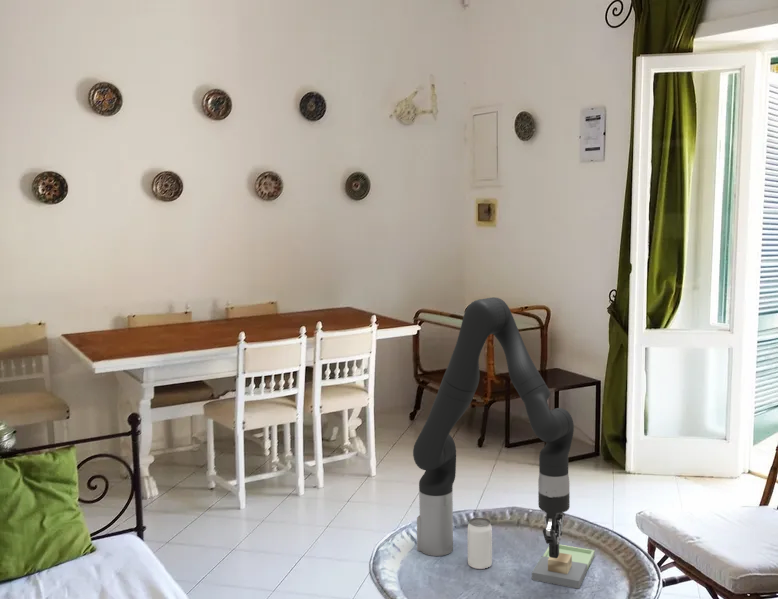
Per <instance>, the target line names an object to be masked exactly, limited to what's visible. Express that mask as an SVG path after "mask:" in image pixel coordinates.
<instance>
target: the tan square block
mask: <svg viewBox="0 0 778 599" xmlns="http://www.w3.org/2000/svg"><path fill="white" fill-rule="evenodd" d="M571 566H572V555H570V554H564V553H559V556H558V558H552V557H549V559H548V571H553V572H558V573H563V574H568V572H569V570H570V568H571Z"/></svg>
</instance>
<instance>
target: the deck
mask: <svg viewBox="0 0 778 599" xmlns="http://www.w3.org/2000/svg"><path fill="white" fill-rule="evenodd" d="M548 559H549V557H544V556H541V557H540V558H539V560H538V562H537V563H536V565H535V566H534V568H533V570H532V572H531V580H532V579H533V580H532V581H535V582H541V581H542V583H546V582H547V583H548V584H552V583H553V584H552V585H559V586H563V587H567V588H574V589H580V587H581V586H582V583H583V582H584V578H585V576H586V575H587V572H588V570H587V564H584V563H578V562H573V561H572V566H571V568H570V570H569V572H568V574H563V573H558V572H553V571H548Z"/></svg>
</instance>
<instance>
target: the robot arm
mask: <svg viewBox="0 0 778 599" xmlns="http://www.w3.org/2000/svg"><path fill="white" fill-rule="evenodd" d="M460 325H461V326H460V328H459V332H458V336H457V341H456V344H455V346H454V350H453V352H452V354H451V358H449V359H450V360H449V363H448V364H447V368H446V370H445V372H444V374H443V377H442V380H441V383H440V385H439V388H438V391H437V393H436V395H435V398H434V401H433V403H432V406H431V408H430V412H429V414H428V416H427V419H426V422H425V424H424V425H423V427H422V429H421V432H420V433H419V435H418V436H417V439H416V440H415V443H414V446H413V448H412V449H413V450H412V456H413V460H414V462H415V465H416V466H417V467H418V468H419V469H421V470H422V471H424V473H423V474H422V476H421V478H420V479H419V482H418V495H419V496H418V497H419V499H418V500H419V501H418V503H419V508H418V509H419V510H418V511H419V515H418V516H417V517H416V544H417V545H416V546H417V547H416V548H417V549H416V551H418V552H419V551H420V552H421V553H423V554H425V555H427V556H432V557H433V556H434V557H441V556H445V555H446V556H447V555H448V554H451V553H452V552H453V551H454V513H453V512H454V511H453V509H454V507H453V506H454V504H453V503H454V501H453V496H454V495H453V494H454V493H453V490H454V489H453V487H454V486H453V485H454V483H455V480H456V474H457V470H456V468H457V448H456V447H457V446H456V443H455V441H454V438H453V437H452V435H451V434H450V432H451V431H452V429H454V426H456V423H458V422H459V420H460V419H461V418H462V416H463V415H464V414H465V412H467V409H468V408H469V406H470V405H471V403H472V401H473V400H474V396H475V393H476V391H477V389H478V386H479V382H480V362H479V359H480V356H481V352H482V350H483V348H484V345H485V343H486V341H487V339H488V337H489V336H490V335H493V336H494V337H495V338H496V341H498V342H499V344H500V346H501V348H502V350H503V352H504V356H505V360H506V364H507V366H506V367H507V371H508V376H509V379H510V381H511V383H512V385H513V387H514V389H515V390H516V392H517V394H518V396H519V397H520V399H521V400H522V402H523V403H524V406H525V410H526V415H527V417H528V421H529V424H530V427H531V429H532V431H533V433H534V435H536V437H537V438H538V439H540V440H541V441H542V442H545V443H546V444H545V445H544V446H543V448H542V449H541V450H540V452H539V456H538V457H539V458H538V461H539V462H538V463H539V464H538V466H539V467H538V468H539V470H538V471H539V473H538V481H537V482H538V485H537V486H538V488H537V489H538V494H537V495H538V496H537V497H538V501H537V502H538V508H539V509H540V510H541V511H543V512H544V513H545V514H546V515H544V517H543V518H544V523H543V524H544V526H545V528H543V529H542V534H543V536H544V539H545V544H547V545H548V547H549V556H550V557H552V558H558V556H559V544H560V542H561V537H563V530H564V522H565V516H566V515H565V514H566V513H565V512H567V511H569V509H570V500H571V498H570V477H569V476H570V474H569V454H570V452H571V451H570V450H571V446H572V442H573V441H572V440H573V438H574V437H573V436H574V432H575V430H574V429H575V425H574V421H573V420H574V419H573V416H572V414H571V413H570V412H569V411H568V410H566V409H565V408H563V407H557V408H553V409H550V406H549V404H548V400H549V399H550V397H551V391H550V389H549V387H548V385H547V384H546V382H545V380H544V378H543V377H542V375H541V374H540V372H539V370H538V369H537V367H536V365H535V363H534V362H533V359H532V358H531V356H530V354H529V352H528V350H527V346H526V345H525V343H524V341H523V338H522V335H521V333H520V331H519V329H518V326H517V323H516V321H515V318H514V316H513V314H512V312H511V309H510V307H509V306H508V304H507V303H506V302H505V301H504V300H503V299H501V298H499V297H487V298H481V299H477V300H474V301H472V302H471V303H470V304H468V305H467V308H466V309H465V312H464V314H463V317H462V322H461V324H460Z"/></svg>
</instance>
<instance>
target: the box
mask: <svg viewBox="0 0 778 599" xmlns="http://www.w3.org/2000/svg"><path fill="white" fill-rule="evenodd" d="M595 551H596V550H595V549H591V548H590V549H589V548H584V547H578V546H577V547H576V546H572V545H565V544H560V543H559V553H564V554H570V555H572V561H573V562H578V563H584V564H587V571H588V570H589V568H590V566H591V564H592V562H593V560H594V557H595ZM543 556H544V557H550V556H549V546H548V547H547V548H546V550H545V552H544V553H543Z"/></svg>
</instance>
